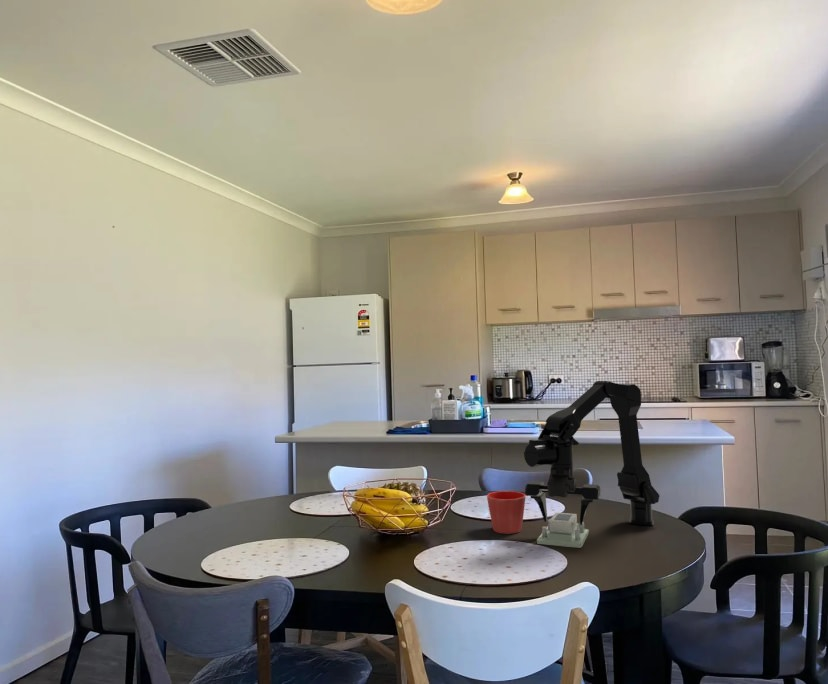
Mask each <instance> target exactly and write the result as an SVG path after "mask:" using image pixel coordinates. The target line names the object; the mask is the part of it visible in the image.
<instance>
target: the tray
mask: <svg viewBox="0 0 828 684" xmlns="http://www.w3.org/2000/svg"><path fill="white" fill-rule="evenodd" d="M550 519H551V518H550ZM550 519H547V526H544V525H543V526H541V534H540V535H539V536H538V538H537V539H536V544H539V545H547V546H556V547H557V546H558V547H567V548H568V547H569V548H577V549H579V548H580V549H581V548H582V547H583V545H584V543H585V541H586V540H587V537H588V535H589V531H590V529H587V528H585V522H584V521H583V523H582V525H580V521H579V523H578V522H577V529H576V530H575V535H574V537H573V539H572V535H563V534H552V533H550V522H549V520H550Z"/></svg>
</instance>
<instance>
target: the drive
mask: <svg viewBox="0 0 828 684" xmlns="http://www.w3.org/2000/svg"><path fill="white" fill-rule="evenodd" d="M577 515H578V514H577V513H567V512H566V513H565V512H555V513H554V514H553V515H552V517H551V518H550V520H549V519H548V520H549V522H550V533H552V534H563V535H572V539H573V537H574V535H575V530H576V529H577V523H578V521H577V520H578V519H577V517H578V516H577Z"/></svg>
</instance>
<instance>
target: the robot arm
mask: <svg viewBox="0 0 828 684" xmlns="http://www.w3.org/2000/svg"><path fill="white" fill-rule="evenodd" d="M605 399H609V400H610V405H611V408H612V409H613V410H614V412H615V413H616V415H617V419H618V427H619V434H620V435H619V436H620V443H621V444H620V445H621V452H622V453H621V454H622V461H623V466H622V468H621V471H618V472H617V473H616V476H617V482H618V483H617V487H619V490H620V492H621V493H622V497H623V499H624V500H629V502H630V503H629V506H630V517H629V519H628V524H629V525H640V526H651V527H652V526H654V524H655V523H654V522H655V519H654V518H653V508H652V507H653V505H656V504H658V503H659V500H660V493H658V491H657V490H656V489H655V488H654V486H653V485H652V482H651V477H650V474H649V473H648V471H647V470H646V468H645V467H644V466H643V461H642V460H643V459H642V452H641V444H640V442H641V441H640V435H639V433H640V432H639V426H638V425H639V424H638V416H637V415H638V412H639V411H640V408H641V406H642V392H641V388H640V387H638V385H636V384H631V383H616V382H613V381H610V380H596V381H595V382H593V384H592V386H590V388H589V389H587V390H586V391H585V392H584V393H583V394H581V395H580V396H579V397H578V398H577V399H576V400H575V401H574V402H572V403H571V404H570V405H569V406H567V407H565V408H563V409H561V410H560V409H559V410H558V411H556V412H554V413H552V414H550V415H549V416H548V417H547V419H546V420H545V425H544V427H543V428H542V430H541V432H540V434H539V436H538V438H537V439H529V440H528V443H529V444H528V445H526V447H525V449H524V452H523V457H524V460H525V463H526V464H527V466H529V467H530V468H535V467H541V466H542V467H543V466H550V472H549V473H550V474H549V477H548V480H547V484H545V483H544V481H541V480H540V481H539V480H531V481H529V482H528V483H527V484H526V485H525V487H524V494H525V496H526V495H527V496H530V499H534V500H535V502H536V504H537V505H538V508H539V510H540V512H541V515H542V518H543V521H544V522H545V523H546V522H548V510H547V499H546V498H547V497H546V493H547V495H548V496H549V497H551V498H554V497H558V498H559V497H561V498H567V497H569V495H580V496H582V498H581V499H580V515H579V522H580V525H582V523H583V522H584V519H585V516H586V513H587V511H588V510H587V509H588V507H589V506H590V503H593V502H594V501H595V500H599V499H600V497H601V487H600V485H599V484H594V483H593V484H592V483H591V484H589V483H584V484H583V486H577V481H576V478H575V477H574V460H573V459H574V455H573V453H574V452H573V446H578V445H579V444H580V443H579V441H578V440H576V438H574V436H575V434H576V433H577V432H578V430H579V429H580V428H581V425H582V421H583V419H585V418H586V417H587V416H588V415H589V414H590V413H591V412H592V411H593V410H594V409H596V408H597V407H598V406H599V405H600V404H601V403H602V402H603V401H604V400H605Z"/></svg>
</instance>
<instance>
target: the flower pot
mask: <svg viewBox="0 0 828 684" xmlns="http://www.w3.org/2000/svg"><path fill="white" fill-rule="evenodd" d="M486 498H487V504H488V505H487V506H488V510H489V515H490V521H491V525H492V529H493V531H494V532H496V533H499V534H508V535H510V534H516V533H520V532H521V531H522V528H523V521H524V515H525V514H524V513H525V506H526V505H525V504H526V494H525V493H523V492H520V491H512V490H507V491H505V490H502V491H499V490H498V491H494V492H489V493H488V494H487V495H486Z"/></svg>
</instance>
